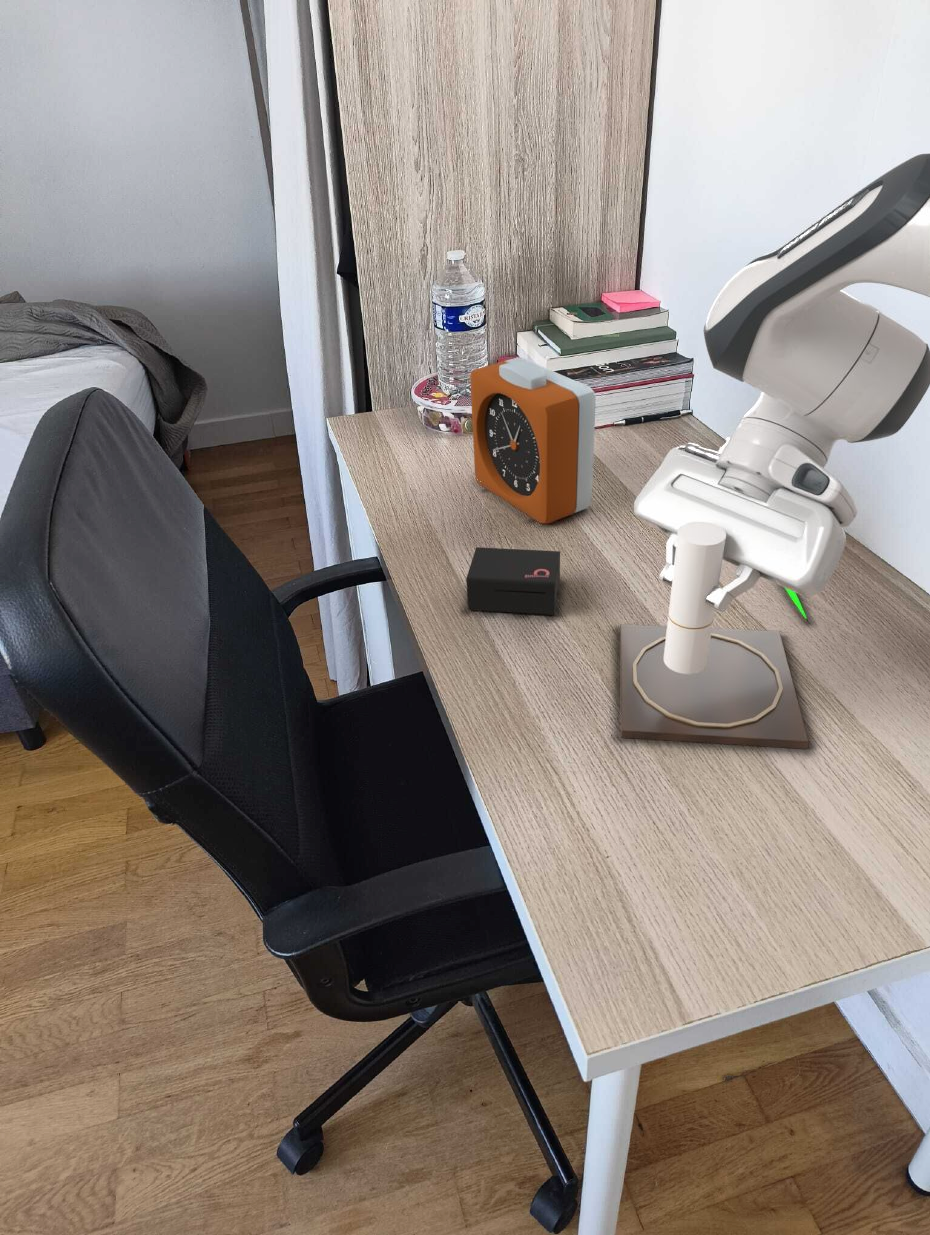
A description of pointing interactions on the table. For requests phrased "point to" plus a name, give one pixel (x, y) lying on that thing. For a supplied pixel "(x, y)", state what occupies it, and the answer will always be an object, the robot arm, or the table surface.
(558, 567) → the electronic device
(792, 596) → the leaf
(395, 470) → the table surface
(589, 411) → the alarm clock
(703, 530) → the tube
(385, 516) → the table surface
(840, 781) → the table surface
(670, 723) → the board
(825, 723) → the table surface
